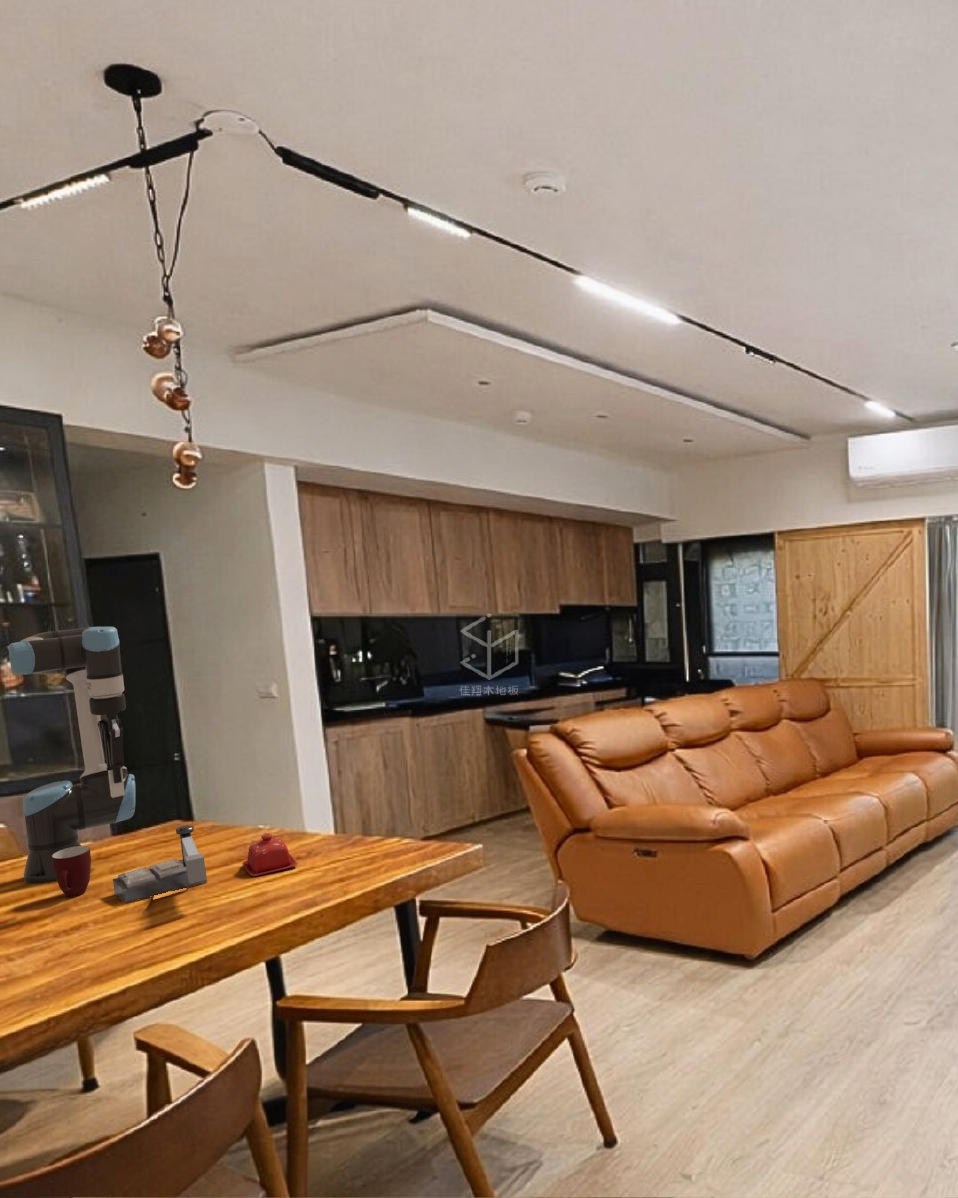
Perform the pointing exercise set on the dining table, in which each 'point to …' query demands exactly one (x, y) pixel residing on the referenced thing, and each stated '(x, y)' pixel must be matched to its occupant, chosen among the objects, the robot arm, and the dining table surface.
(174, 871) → the grey stepped machine part
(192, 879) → the light grey bar
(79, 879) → the mug
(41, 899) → the dining table surface
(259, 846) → the butter dish
